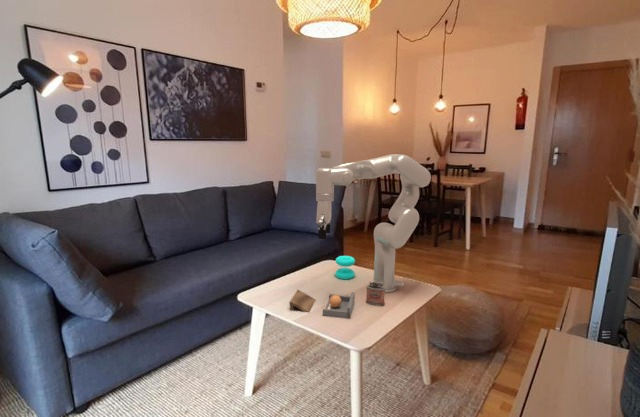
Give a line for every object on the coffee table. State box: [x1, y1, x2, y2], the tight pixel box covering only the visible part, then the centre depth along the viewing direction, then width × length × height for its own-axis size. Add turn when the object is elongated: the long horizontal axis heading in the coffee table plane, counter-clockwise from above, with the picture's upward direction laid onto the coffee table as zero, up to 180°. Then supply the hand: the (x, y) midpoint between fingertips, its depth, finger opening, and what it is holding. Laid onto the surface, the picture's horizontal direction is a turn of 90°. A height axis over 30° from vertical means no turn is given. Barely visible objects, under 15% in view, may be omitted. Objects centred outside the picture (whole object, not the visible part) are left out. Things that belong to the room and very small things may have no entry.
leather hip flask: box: [365, 280, 385, 307], centre depth 151 cm, size 8×3×10 cm, turn 70°
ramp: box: [288, 289, 316, 313], centre depth 150 cm, size 9×12×5 cm
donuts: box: [335, 255, 356, 280], centre depth 182 cm, size 10×10×10 cm
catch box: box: [322, 292, 355, 320], centre depth 147 cm, size 11×15×4 cm
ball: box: [330, 294, 341, 307], centre depth 148 cm, size 5×5×5 cm
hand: (324, 235), depth 153 cm, fingers open, 9 cm apart
